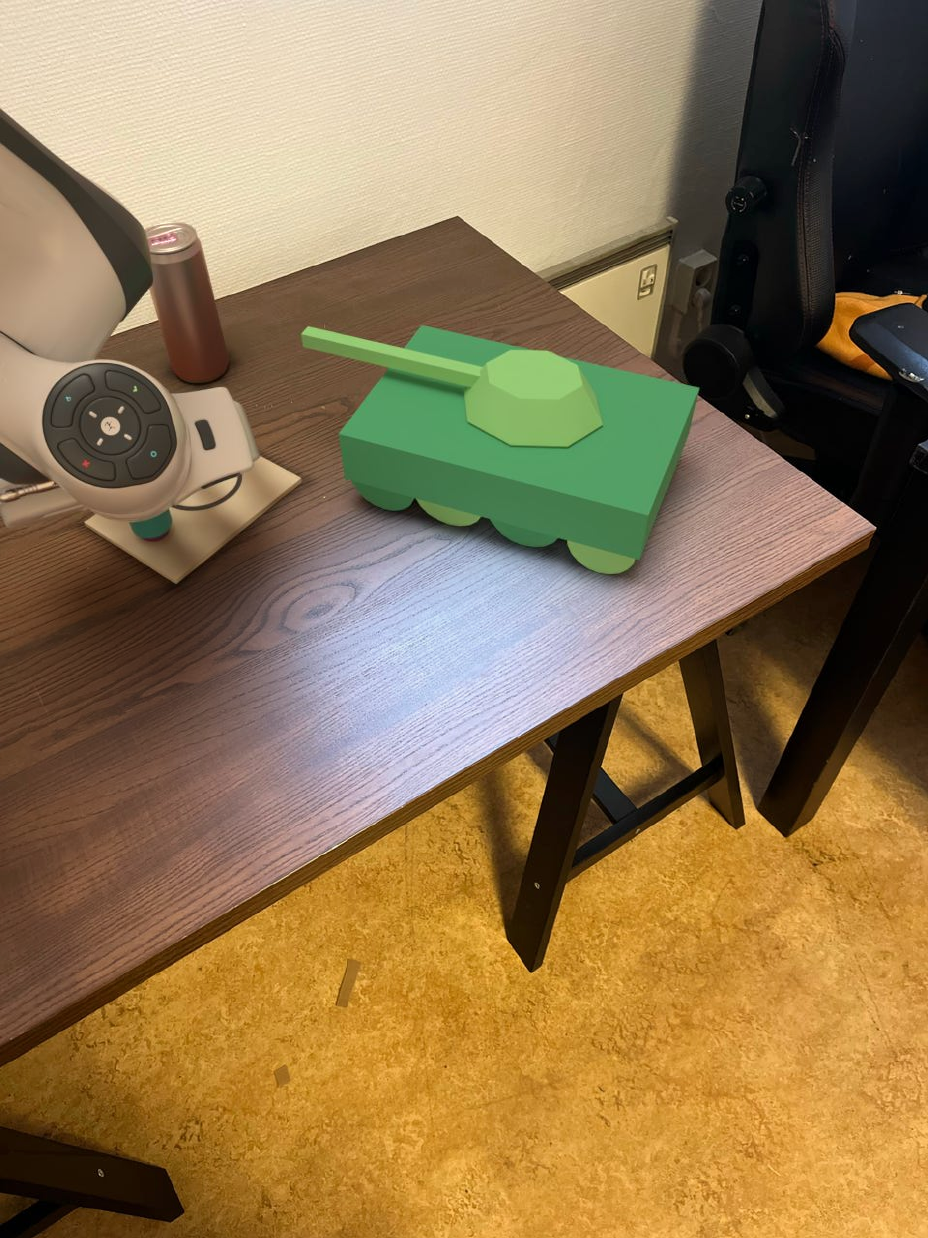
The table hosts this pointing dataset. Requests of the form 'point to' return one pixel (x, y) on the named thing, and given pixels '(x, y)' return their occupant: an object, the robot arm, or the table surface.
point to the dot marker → (153, 527)
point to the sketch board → (203, 520)
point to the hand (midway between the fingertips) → (134, 478)
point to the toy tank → (515, 441)
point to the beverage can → (186, 303)
